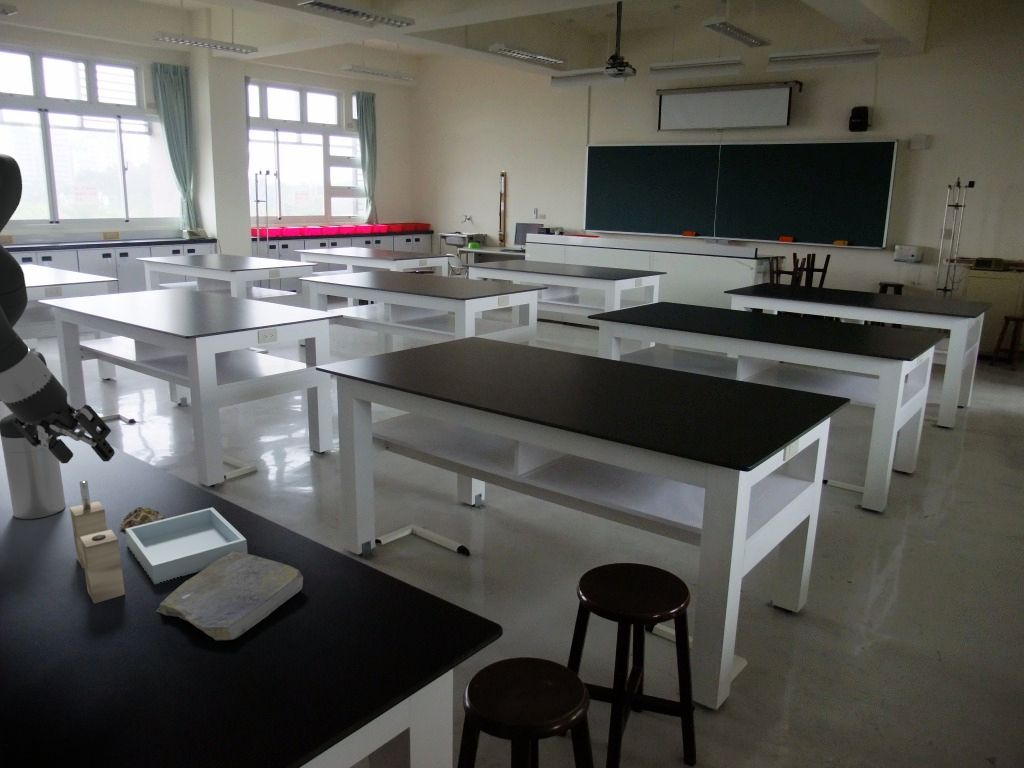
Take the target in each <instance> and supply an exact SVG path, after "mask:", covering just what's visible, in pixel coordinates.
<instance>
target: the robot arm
mask: <svg viewBox="0 0 1024 768" xmlns="http://www.w3.org/2000/svg"><path fill="white" fill-rule="evenodd" d="M22 193H23V177H22V173H21V169H20V166H19V164H18V161H17V160H16V159H15V158H14V157H12V156H11V155H8V154H6V153H0V233H1V232H2V231H3V230H4V228H5V227H6V226H7V224H8V223H9V221H10V220H11V218H12V217H13V215H14V214H15V212H16V211H17V208H18V207H19V205H20V202H21V200H22ZM25 279H26V278H25V273H24V271H23V267H22V266H21V264H20V263H19V262H18V260H17V259H16V258H15V257H14V256H13V254H11V253H10V252H9V251H8V250H7V249H6V248H5V247H4V246H3V245H2V244H1V243H0V402H2V403H3V404H4V405H5V406H6V407H7V408H8V410H9V411H10V412H11V414H9V415H6V416H4V417H2V418H1V419H0V441H1V446H2V447H1V448H2V452H3V458H4V464H5V465H4V466H5V470H6V476H7V482H8V488H9V489H8V490H9V495H10V502H11V503H10V504H11V507H12V515H13V517H15V518H17V519H22V520H32V519H41V518H45V517H49V516H52V515H55V514H57V513H59V512H61V511H63V510H64V509H65V507H66V499H65V491H64V484H63V478H62V470H61V465H60V463H61V464H68V463H70V461H71V460H72V458H73V457H74V453H73V451H72V450H71V449H70V448H69V446H67V444H66V443H65V442H64V441H63V439H61V438H60V437H61V436H62V437H69V438H70V439H71V440H74V441H76V442H78V441H79V442H80V441H81V442H83V443H85V444H87V445H89V446H90V448H91V449H92V450H93V451H94V453H95V454H96V455H97V456H98V457H99V458H100V459H101V460H102V462H110V461H111V460H112V458H113V457H114V455H115V453H116V451H115V449H114V448H113V446H112V445H111V444H110V443H109V441H107V439H106V438H107V437H108V436H109V434H110V433H111V432H112V429H111V428H110V427H109V426H108V424H107V423H106V422H105V421H104V420H103V419H102V418H101V416H100V415H98V414H97V412H96V411H95V410H94V409H93V408H92V406H90V405H89V404H84V405H83V406H82V407H81V408H78V409H76V408H75V407H74V406H71V404H69V402H68V392H67V390H66V389H65V387H64V386H63V385H62V384H61V383H60V381H59V380H58V379H57V377H56V376H55V375H54V373H53V372H52V371H51V370H50V369H49V368H48V366H47V362H46V358H45V357H44V355H43V353H41V351H34V350H33V351H32V350H31V349H30V348H29V346H28V345H27V344H26V343H25V342H24V340H23V339H22V338H21V336H20V335H19V334H18V333H17V332H16V331H15V330H14V326H16V324H17V323H18V321H19V320H20V318H21V317H22V316H23V314H24V312H25V311H26V308H27V306H28V299H29V297H28V291H27V284H26V280H25ZM79 425H80V426H81V429H80V430H79V431H77V429H78V428H79ZM76 431H77V432H76ZM86 433H88V434H89V435H90V436H88V435H86ZM58 437H59V438H58Z"/></svg>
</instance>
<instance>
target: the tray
mask: <svg viewBox="0 0 1024 768" xmlns="http://www.w3.org/2000/svg"><path fill="white" fill-rule="evenodd" d="M124 531H125V538H126V545H128V546H127V547H129V548H130V549H129V548H128V549H129V550H130V552H131V551H132V552H131V554H132V555H133V554H134V555H135V556H134V555H133V556H134V557H135V559H136V558H137V559H136V560H137V562H138V561H139V562H140V563H139V562H138V563H139V565H142V566H141V567H142V569H143V568H144V569H143V570H144V572H145V571H146V572H147V573H146V572H145V573H146V575H147V576H148V575H149V576H148V577H149V579H150V578H151V579H150V580H151V581H152V583H153V585H158V584H160V582H162V583H164V582H163V581H165V582H167V581H166V580H168V581H170V579H172V580H174V579H173V578H175V579H178V578H177V577H179V578H181V577H180V576H182V577H185V576H188V574H189V575H191V574H196V573H199V572H201V571H202V570H204V569H205V568H206V567H208V566H209V565H210V564H211V563H213V562H214V561H216V560H218V559H219V558H221V557H223V556H226V555H228V554H229V553H231V552H232V551H236V552H242V553H247V554H249V552H248V544H247V543H248V542H247V541H248V540H247V539H246V538H245V536H243V535H242V534H241V532H239V531H238V530H237V529H236V528H235V527H234V526H233V525H232V524H231V523H230V522H229V521H227V519H225V518H224V516H222V515H221V514H220V513H219V512H218V511H217V510H216V509H215V508H214V507H208V508H204V509H200V510H196V511H193V512H187V513H183V514H179V515H175V516H172V517H168V518H165V519H163V520H159V521H155V522H151V523H147V524H143V525H139V526H135V527H131V528H127V529H125V530H124Z"/></svg>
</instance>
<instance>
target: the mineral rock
mask: <svg viewBox="0 0 1024 768" xmlns="http://www.w3.org/2000/svg"><path fill="white" fill-rule="evenodd" d="M163 519H166V518H165V515H162V514H160V512H159V511H158V510H154V509H153V508H150V507H147V506H146V507H143V506H138V507H136V508H135V509H133V510H132V511H129V513H128V514H127V515H126V516H125V517H124V519H123V522H121V523H120V526H119V528H120V530H122V531H125V529H127V528H131V527H135V526H139V525H143V524H147V523H151V522H155V521H159V520H163Z"/></svg>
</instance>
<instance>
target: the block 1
mask: <svg viewBox="0 0 1024 768" xmlns="http://www.w3.org/2000/svg"><path fill="white" fill-rule="evenodd" d="M79 488H80V496H81V503H82V504H80V505H79V504H78V505H74V506H70V507H69V511H70V517H71V524H72V525H71V526H72V533H73V537H74V539H73V540H74V545H75V554H76V559H77V561H78V563H79V564H80V566H81V569H85V568H84V561H83V554H82V547H81V540H80V537H82V536H86V535H90V534H94V533H98V532H102V531H106V530H108V525H107V517H106V509H105V508H104V506H103V505H102V504H101V502H100V501H99V500H97V501H93V502H91V500H90V498H91V497H90V492H89V491H90V490H89V485H88V480H82V481H79Z"/></svg>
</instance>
